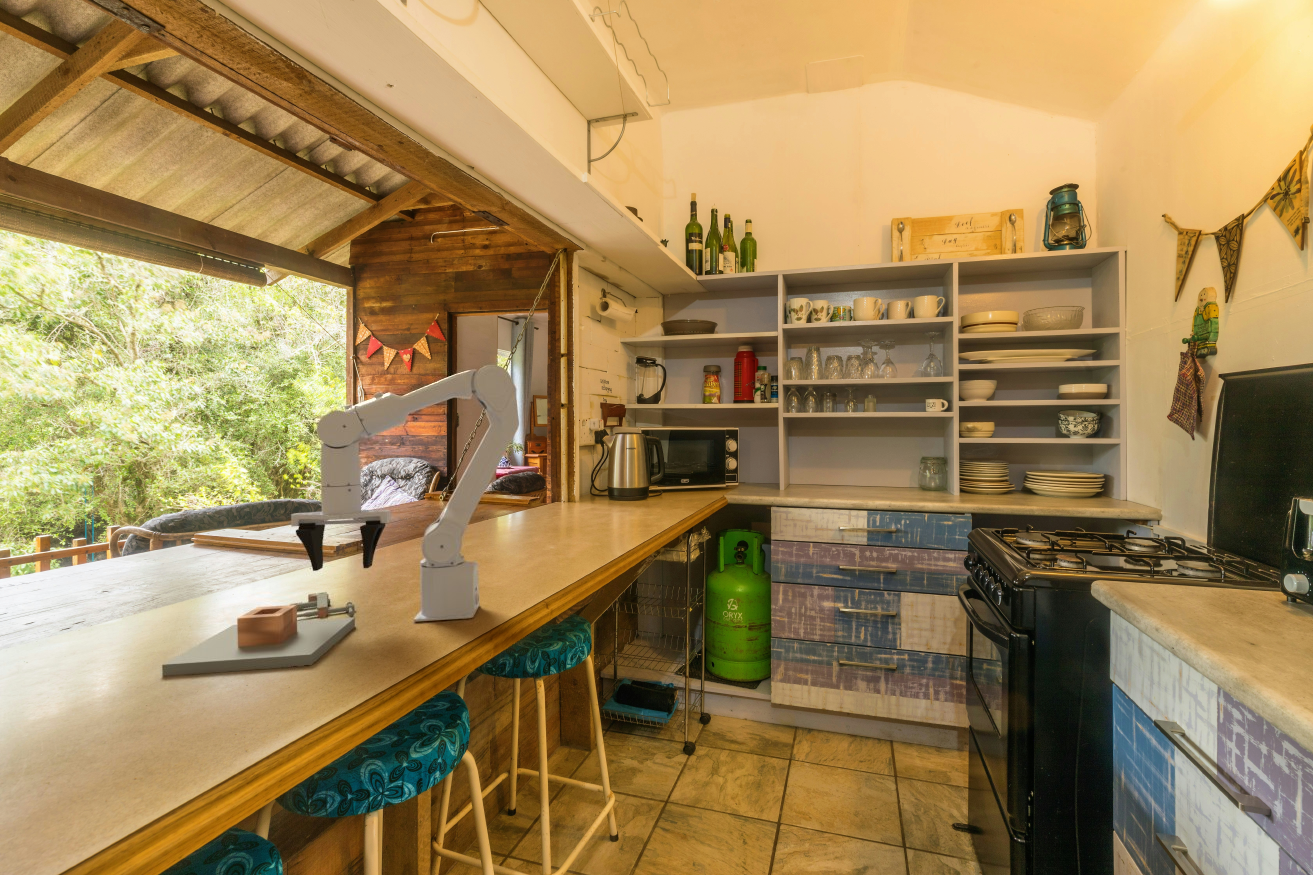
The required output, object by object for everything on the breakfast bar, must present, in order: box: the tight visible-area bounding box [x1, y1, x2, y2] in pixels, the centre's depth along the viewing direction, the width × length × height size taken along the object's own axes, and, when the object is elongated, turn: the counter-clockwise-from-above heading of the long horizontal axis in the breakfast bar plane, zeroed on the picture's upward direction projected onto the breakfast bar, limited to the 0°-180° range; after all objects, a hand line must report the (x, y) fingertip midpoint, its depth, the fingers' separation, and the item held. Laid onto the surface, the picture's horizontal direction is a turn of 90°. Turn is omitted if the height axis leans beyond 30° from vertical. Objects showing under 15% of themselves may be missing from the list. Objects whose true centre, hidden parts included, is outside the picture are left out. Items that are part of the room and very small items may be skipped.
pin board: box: [161, 616, 356, 677], centre depth 84 cm, size 18×16×4 cm
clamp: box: [289, 591, 356, 619], centre depth 102 cm, size 15×2×10 cm
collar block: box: [236, 604, 298, 647], centre depth 84 cm, size 5×5×4 cm
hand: (342, 568), depth 94 cm, fingers open, 7 cm apart
